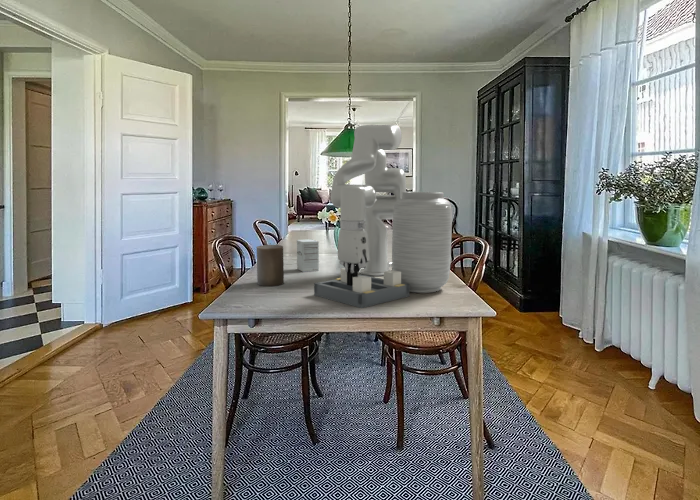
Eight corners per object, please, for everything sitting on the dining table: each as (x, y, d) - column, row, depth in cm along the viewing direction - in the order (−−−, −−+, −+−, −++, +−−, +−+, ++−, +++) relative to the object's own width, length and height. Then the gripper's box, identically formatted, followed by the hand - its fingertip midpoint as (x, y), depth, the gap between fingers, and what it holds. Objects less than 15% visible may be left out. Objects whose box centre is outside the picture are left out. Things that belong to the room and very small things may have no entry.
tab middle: (340, 289, 163) (340, 268, 162) (349, 287, 166) (349, 267, 165) (348, 291, 160) (348, 270, 159) (357, 289, 163) (357, 268, 162)
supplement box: (296, 269, 206) (296, 239, 204) (313, 268, 209) (312, 238, 207) (302, 272, 199) (302, 241, 198) (319, 271, 203) (319, 240, 201)
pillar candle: (289, 283, 178) (288, 242, 175) (267, 287, 170) (267, 245, 168) (272, 279, 184) (272, 240, 182) (251, 283, 177) (250, 242, 175)
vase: (381, 284, 176) (383, 191, 171) (430, 281, 183) (433, 191, 179) (408, 297, 157) (411, 192, 153) (461, 292, 165) (465, 192, 160)
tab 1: (352, 299, 149) (352, 277, 148) (361, 297, 152) (362, 275, 151) (361, 301, 146) (362, 279, 145) (371, 299, 149) (371, 277, 148)
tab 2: (383, 292, 159) (383, 271, 158) (391, 290, 161) (391, 270, 160) (392, 294, 156) (393, 273, 155) (400, 292, 159) (401, 271, 158)
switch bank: (314, 295, 159) (314, 282, 159) (361, 285, 174) (361, 274, 174) (361, 308, 144) (361, 294, 143) (409, 296, 159) (409, 283, 158)
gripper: (378, 227, 146) (378, 287, 149) (345, 223, 157) (344, 279, 159) (361, 228, 141) (360, 290, 144) (327, 225, 152) (327, 282, 154)
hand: (352, 284), depth 151 cm, fingers closed
